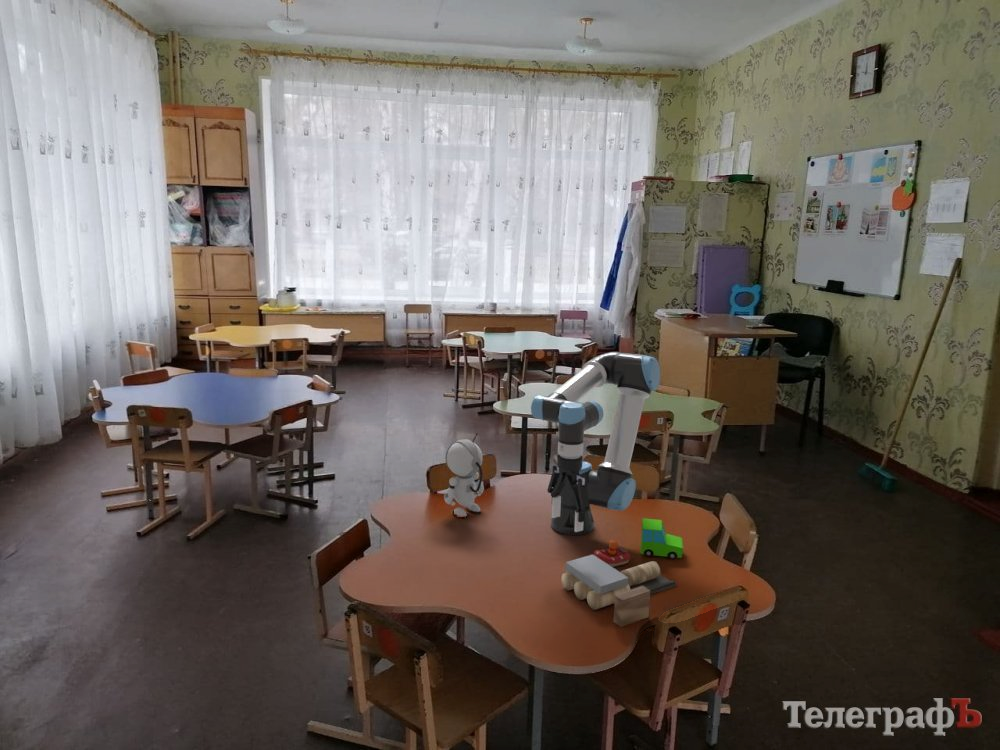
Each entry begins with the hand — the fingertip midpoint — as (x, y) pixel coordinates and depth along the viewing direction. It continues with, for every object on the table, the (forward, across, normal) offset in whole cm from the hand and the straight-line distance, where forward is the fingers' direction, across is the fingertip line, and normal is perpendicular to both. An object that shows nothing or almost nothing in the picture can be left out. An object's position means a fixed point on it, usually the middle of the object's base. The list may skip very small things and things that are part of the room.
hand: (567, 523), depth 215 cm
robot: (+16, -53, -5) cm, 56 cm away
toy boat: (+16, +2, +16) cm, 23 cm away
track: (+16, +19, +9) cm, 26 cm away
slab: (+11, +15, 0) cm, 18 cm away
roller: (+16, +17, +15) cm, 28 cm away
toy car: (+16, +6, +35) cm, 39 cm away
